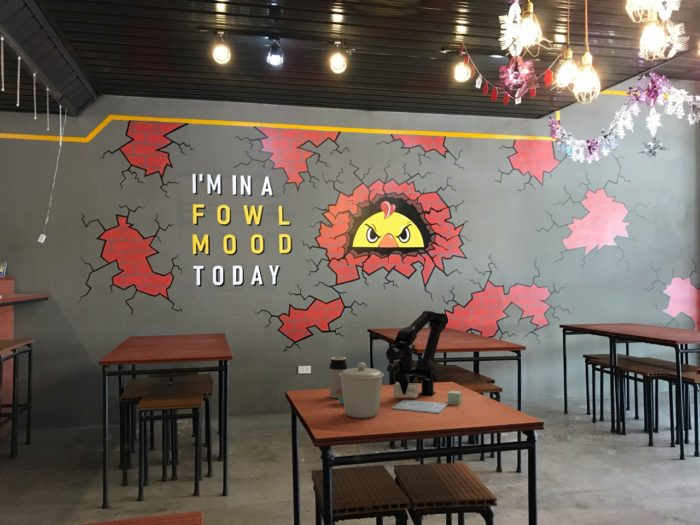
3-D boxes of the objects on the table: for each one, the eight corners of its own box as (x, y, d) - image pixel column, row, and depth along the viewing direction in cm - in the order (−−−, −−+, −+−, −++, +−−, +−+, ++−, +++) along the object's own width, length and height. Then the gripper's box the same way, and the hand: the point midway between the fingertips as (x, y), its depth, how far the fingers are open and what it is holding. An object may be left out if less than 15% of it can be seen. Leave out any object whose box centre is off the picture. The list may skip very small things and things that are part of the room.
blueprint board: (403, 400, 246) (403, 399, 246) (448, 405, 238) (448, 403, 238) (392, 409, 231) (392, 407, 231) (439, 413, 224) (439, 411, 224)
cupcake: (332, 404, 240) (332, 376, 240) (340, 400, 247) (340, 373, 248) (351, 406, 236) (351, 378, 237) (358, 402, 244) (358, 374, 244)
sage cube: (450, 401, 244) (450, 390, 244) (461, 402, 242) (461, 391, 242) (447, 404, 240) (447, 392, 240) (459, 405, 238) (459, 393, 238)
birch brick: (397, 393, 254) (397, 382, 254) (418, 394, 251) (418, 383, 251) (393, 395, 249) (393, 384, 249) (415, 397, 245) (415, 386, 245)
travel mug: (350, 396, 256) (350, 357, 256) (341, 399, 249) (341, 359, 249) (335, 394, 260) (335, 356, 260) (326, 398, 253) (326, 358, 253)
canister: (378, 422, 210) (377, 367, 211) (333, 419, 216) (332, 365, 216) (388, 411, 228) (388, 360, 228) (346, 408, 233) (346, 358, 233)
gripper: (395, 354, 262) (395, 387, 262) (382, 360, 245) (382, 395, 244) (418, 355, 257) (418, 389, 257) (406, 361, 240) (406, 397, 240)
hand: (406, 392), depth 250 cm, fingers closed on birch brick, 6 cm apart
